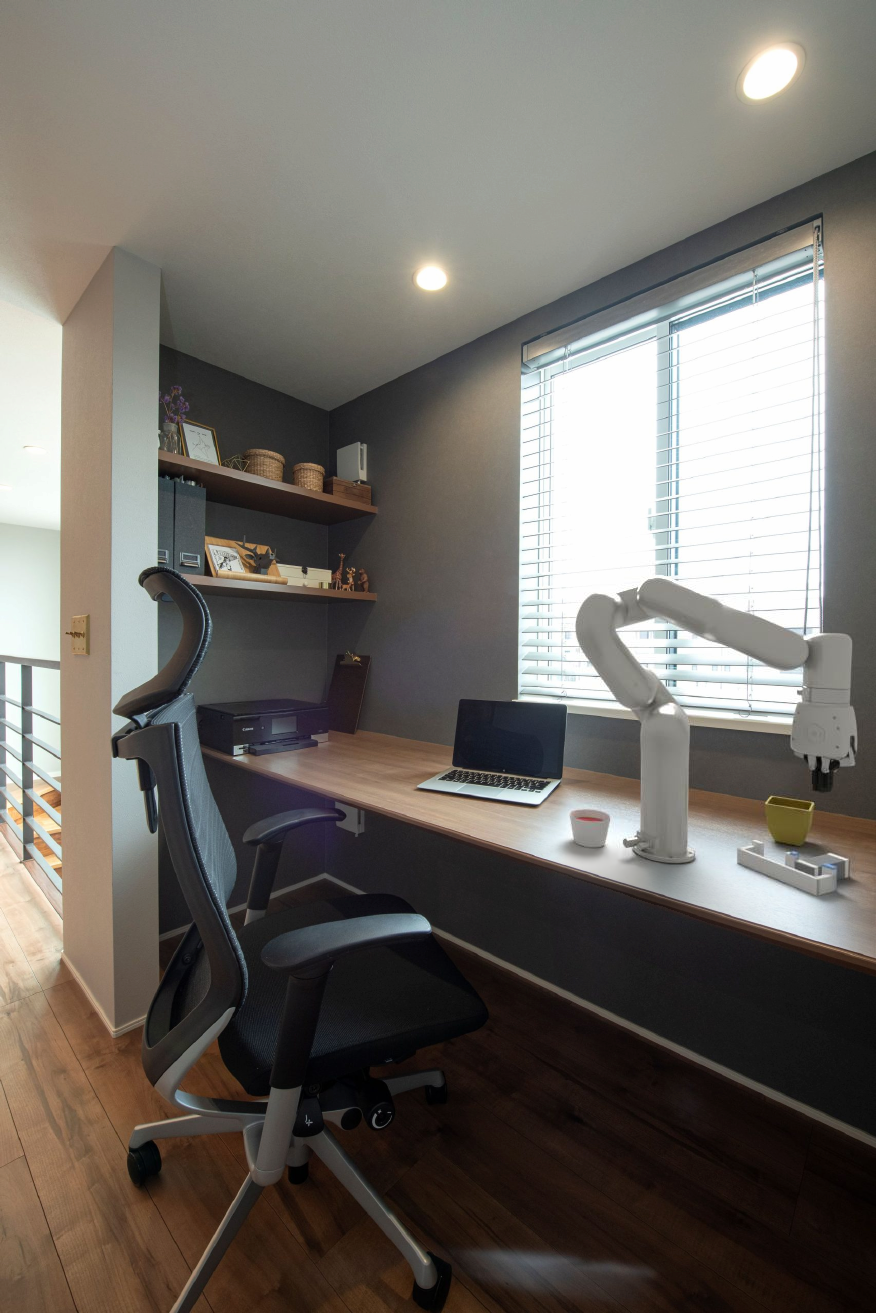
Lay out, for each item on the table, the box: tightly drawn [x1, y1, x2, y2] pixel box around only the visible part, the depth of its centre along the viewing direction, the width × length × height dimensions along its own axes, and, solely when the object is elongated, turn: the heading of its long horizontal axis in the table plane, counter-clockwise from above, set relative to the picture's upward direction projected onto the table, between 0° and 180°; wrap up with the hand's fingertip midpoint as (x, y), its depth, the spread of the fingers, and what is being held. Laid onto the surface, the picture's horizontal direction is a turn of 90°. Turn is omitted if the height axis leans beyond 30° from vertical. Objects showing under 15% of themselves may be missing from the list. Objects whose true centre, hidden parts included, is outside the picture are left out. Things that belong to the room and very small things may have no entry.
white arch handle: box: [736, 839, 838, 897], centre depth 107 cm, size 6×16×4 cm, turn 23°
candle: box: [569, 808, 611, 849], centre depth 124 cm, size 9×9×6 cm
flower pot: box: [764, 795, 815, 847], centre depth 125 cm, size 9×9×9 cm
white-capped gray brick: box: [795, 852, 851, 881], centre depth 106 cm, size 11×4×4 cm, turn 112°
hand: (821, 790), depth 106 cm, fingers closed
